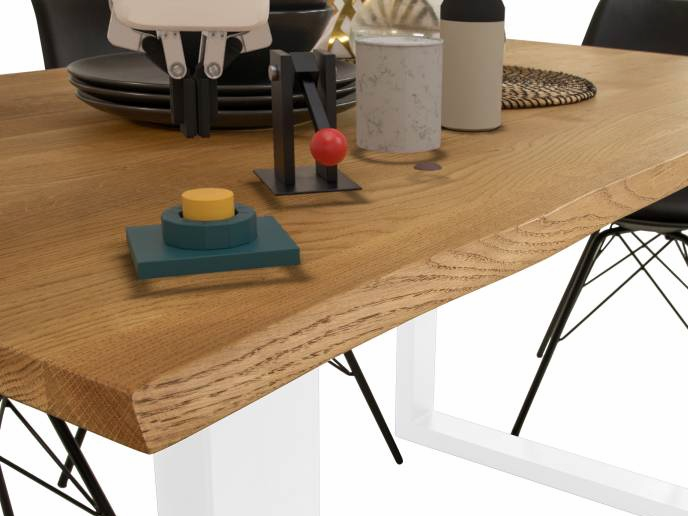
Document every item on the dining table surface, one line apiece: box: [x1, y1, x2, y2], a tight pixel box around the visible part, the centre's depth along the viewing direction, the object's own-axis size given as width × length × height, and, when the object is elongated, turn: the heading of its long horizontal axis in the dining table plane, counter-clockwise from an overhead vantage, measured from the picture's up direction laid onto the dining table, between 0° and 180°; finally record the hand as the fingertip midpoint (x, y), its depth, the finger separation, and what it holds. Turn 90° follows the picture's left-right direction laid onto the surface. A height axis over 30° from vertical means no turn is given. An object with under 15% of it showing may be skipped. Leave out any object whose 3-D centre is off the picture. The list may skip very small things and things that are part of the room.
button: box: [181, 187, 235, 221], centre depth 72 cm, size 4×4×2 cm
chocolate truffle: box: [413, 160, 443, 172], centre depth 101 cm, size 3×3×2 cm
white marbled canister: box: [354, 34, 444, 154], centre depth 110 cm, size 10×10×12 cm
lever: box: [288, 51, 349, 166], centre depth 88 cm, size 13×3×3 cm
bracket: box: [252, 48, 363, 197], centre depth 93 cm, size 10×8×13 cm
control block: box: [125, 201, 301, 281], centre depth 73 cm, size 11×9×4 cm
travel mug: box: [439, 0, 506, 132], centre depth 125 cm, size 8×8×18 cm
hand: (195, 134), depth 70 cm, fingers closed
